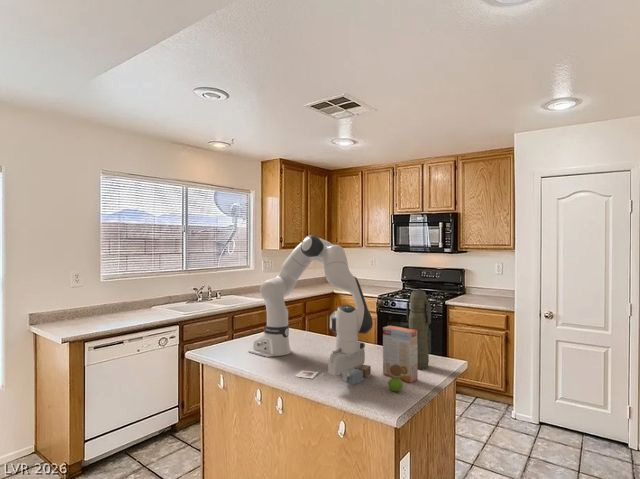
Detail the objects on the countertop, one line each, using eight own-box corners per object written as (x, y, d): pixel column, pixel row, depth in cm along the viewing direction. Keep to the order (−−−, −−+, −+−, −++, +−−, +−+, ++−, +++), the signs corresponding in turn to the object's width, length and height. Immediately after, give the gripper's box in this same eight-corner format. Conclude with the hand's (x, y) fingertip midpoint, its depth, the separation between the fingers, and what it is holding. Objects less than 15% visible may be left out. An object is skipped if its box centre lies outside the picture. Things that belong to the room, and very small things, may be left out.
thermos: (427, 371, 172) (427, 292, 172) (402, 366, 179) (402, 290, 179) (434, 366, 179) (434, 290, 179) (410, 361, 186) (410, 288, 186)
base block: (352, 377, 166) (352, 367, 166) (357, 372, 171) (357, 363, 171) (365, 379, 163) (365, 369, 163) (370, 375, 168) (370, 365, 168)
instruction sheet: (294, 376, 166) (294, 375, 166) (301, 370, 173) (301, 370, 173) (312, 379, 163) (312, 378, 163) (318, 372, 171) (318, 371, 171)
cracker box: (418, 379, 162) (418, 329, 162) (410, 383, 158) (410, 332, 158) (390, 371, 172) (390, 324, 172) (382, 374, 168) (382, 326, 168)
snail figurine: (386, 387, 153) (386, 357, 153) (403, 389, 151) (403, 358, 151) (385, 392, 148) (384, 361, 148) (402, 394, 146) (402, 363, 146)
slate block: (342, 380, 161) (342, 371, 161) (351, 376, 165) (351, 367, 165) (354, 384, 157) (354, 374, 157) (362, 380, 161) (362, 370, 161)
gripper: (337, 353, 147) (336, 389, 147) (367, 342, 163) (367, 375, 163) (324, 350, 151) (324, 385, 151) (355, 340, 167) (355, 372, 167)
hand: (346, 380), depth 157 cm, fingers closed
